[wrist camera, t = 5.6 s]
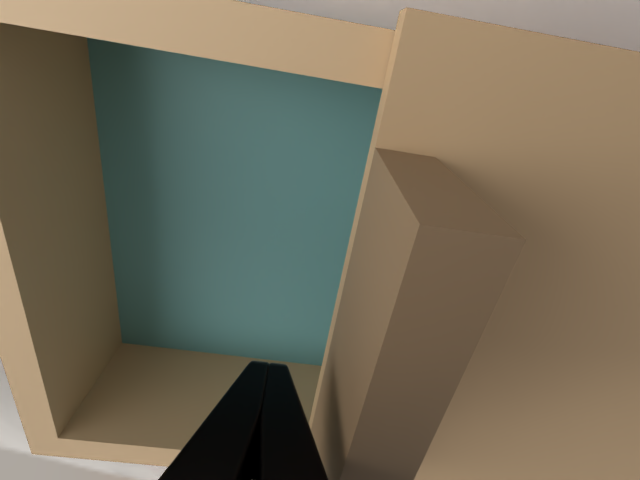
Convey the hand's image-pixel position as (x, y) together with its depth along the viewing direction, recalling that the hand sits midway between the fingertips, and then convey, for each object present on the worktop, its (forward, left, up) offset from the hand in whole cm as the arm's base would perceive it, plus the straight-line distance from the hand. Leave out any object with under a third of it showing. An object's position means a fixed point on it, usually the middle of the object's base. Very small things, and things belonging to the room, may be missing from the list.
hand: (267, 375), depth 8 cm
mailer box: (-1, 0, -7) cm, 7 cm away
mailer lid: (+9, 0, -2) cm, 9 cm away
